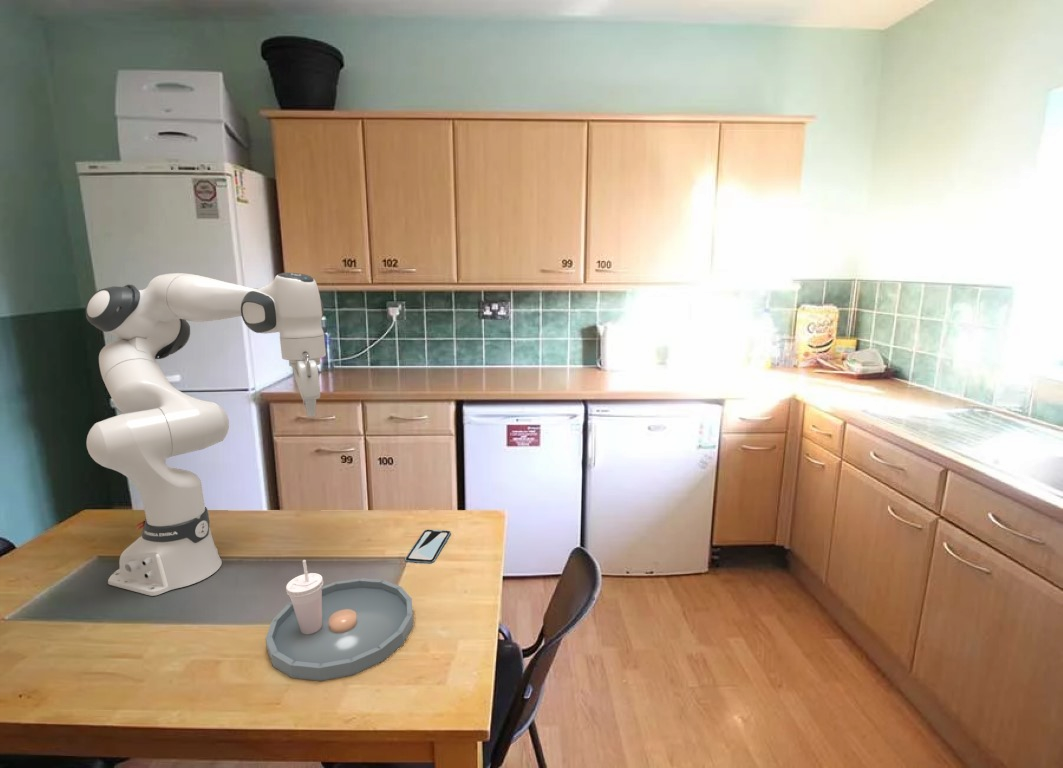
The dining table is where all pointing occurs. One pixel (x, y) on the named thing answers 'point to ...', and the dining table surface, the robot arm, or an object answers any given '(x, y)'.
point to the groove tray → (343, 631)
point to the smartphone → (428, 546)
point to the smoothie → (307, 600)
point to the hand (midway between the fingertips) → (309, 411)
